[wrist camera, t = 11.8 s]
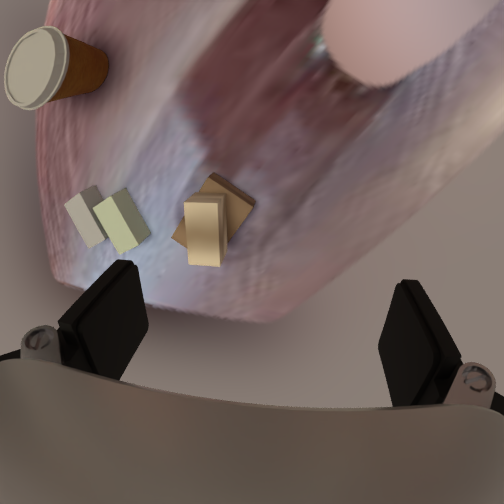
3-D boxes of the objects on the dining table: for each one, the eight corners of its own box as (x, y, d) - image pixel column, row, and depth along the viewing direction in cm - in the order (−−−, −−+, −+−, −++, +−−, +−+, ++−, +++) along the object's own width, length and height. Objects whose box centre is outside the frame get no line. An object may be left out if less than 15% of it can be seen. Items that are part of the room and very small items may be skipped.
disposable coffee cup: (131, 46, 29) (72, 30, 18) (102, 113, 33) (39, 122, 22) (80, 32, 28) (20, 20, 17) (55, 93, 32) (-7, 99, 21)
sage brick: (108, 198, 38) (92, 208, 35) (126, 187, 37) (110, 195, 34) (132, 242, 41) (119, 254, 37) (151, 232, 40) (138, 244, 36)
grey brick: (80, 195, 39) (64, 204, 35) (96, 184, 38) (79, 192, 34) (103, 237, 41) (88, 248, 37) (119, 228, 40) (105, 239, 37)
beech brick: (195, 192, 34) (183, 202, 30) (225, 192, 33) (217, 203, 30) (198, 249, 37) (188, 264, 33) (227, 250, 36) (220, 266, 33)
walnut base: (214, 171, 36) (208, 177, 33) (256, 199, 37) (253, 207, 34) (179, 228, 39) (171, 237, 37) (217, 254, 40) (212, 264, 38)
